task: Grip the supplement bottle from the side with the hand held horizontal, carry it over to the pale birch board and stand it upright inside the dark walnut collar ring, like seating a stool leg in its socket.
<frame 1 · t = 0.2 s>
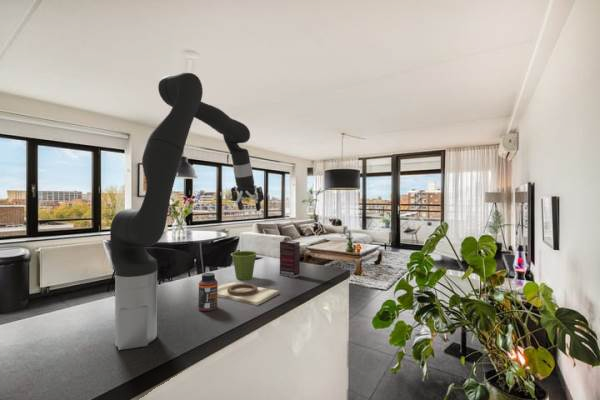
hand: (249, 210, 126), 31 cm above the kitchen counter, tool tilted 20°, fingers open, 8 cm apart
plant pot: (244, 278, 130), on the kitchen counter
stool seat board: (242, 293, 109), on the kitchen counter
supplement bottle: (207, 309, 94), on the kitchen counter
supplement box: (289, 275, 136), on the kitchen counter
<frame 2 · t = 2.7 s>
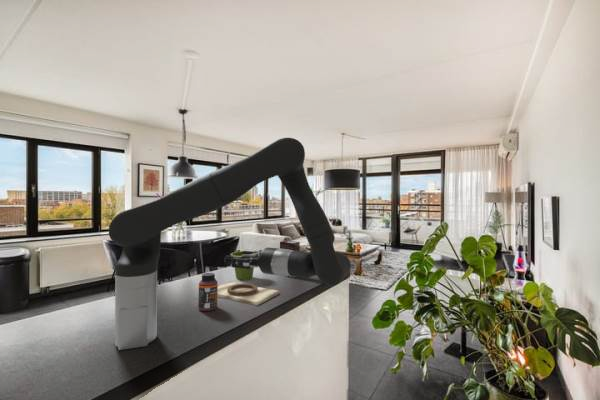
hand: (234, 256, 89), 18 cm above the kitchen counter, tool horizontal, fingers open, 8 cm apart
nothing on the kitchen counter moved.
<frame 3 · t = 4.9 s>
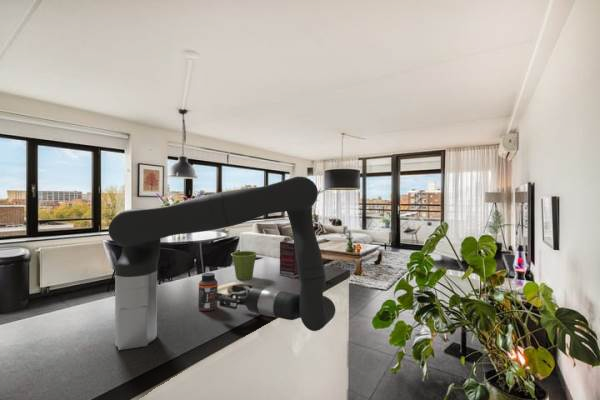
hand: (224, 292, 91), 7 cm above the kitchen counter, tool horizontal, fingers open, 8 cm apart
nothing on the kitchen counter moved.
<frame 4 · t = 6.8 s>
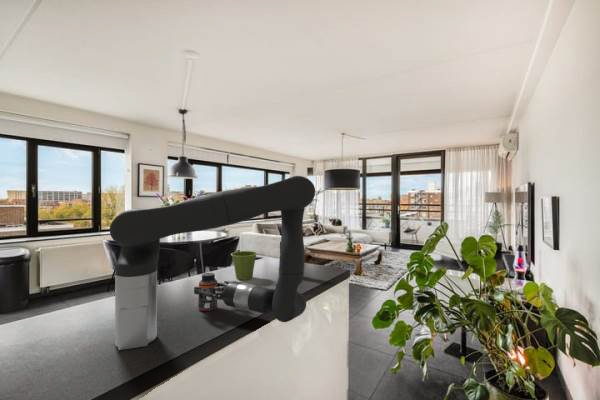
hand: (202, 287, 96), 7 cm above the kitchen counter, tool horizontal, fingers closed on supplement bottle, 6 cm apart
supplement bottle: (207, 308, 94), on the kitchen counter, touching gripper
everything else where it was.
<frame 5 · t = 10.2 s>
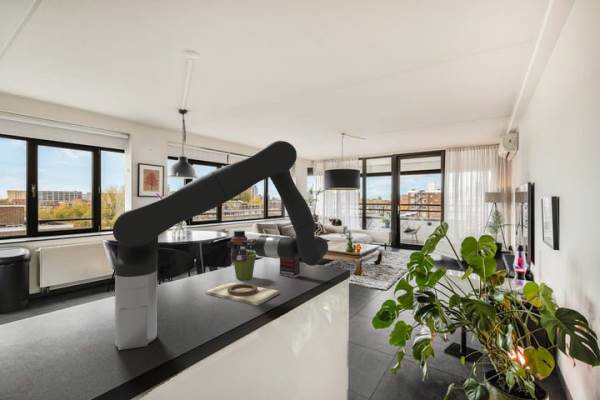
hand: (234, 243, 108), 19 cm above the kitchen counter, tool horizontal, fingers closed on supplement bottle, 6 cm apart
supplement bottle: (239, 262, 107), point 13 cm above the kitchen counter, touching gripper
everything else where it was.
when the fingers open (9 cm above the kitchen counter, at t = 13.6 s): supplement bottle drops 1 cm, resting on stool seat board.
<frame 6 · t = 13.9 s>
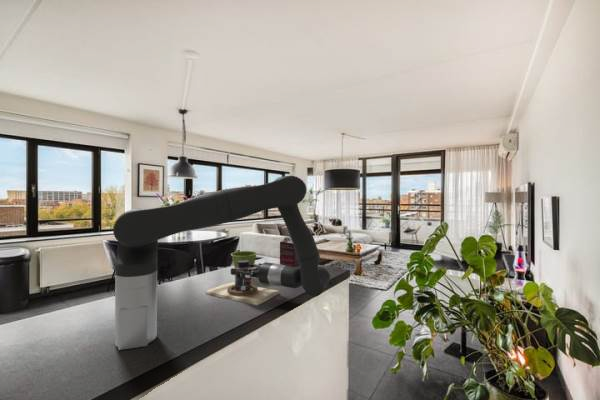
hand: (238, 268, 110), 9 cm above the kitchen counter, tool horizontal, fingers open, 8 cm apart
supplement bottle: (243, 291, 109), point 1 cm above the kitchen counter, touching stool seat board
everything else where it was.
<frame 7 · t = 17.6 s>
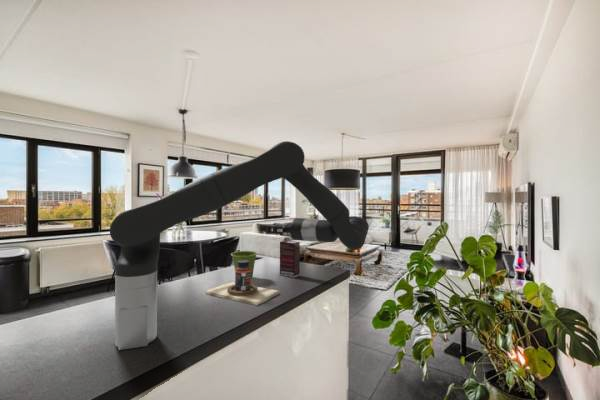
hand: (266, 227, 104), 26 cm above the kitchen counter, tool horizontal, fingers open, 8 cm apart
nothing on the kitchen counter moved.
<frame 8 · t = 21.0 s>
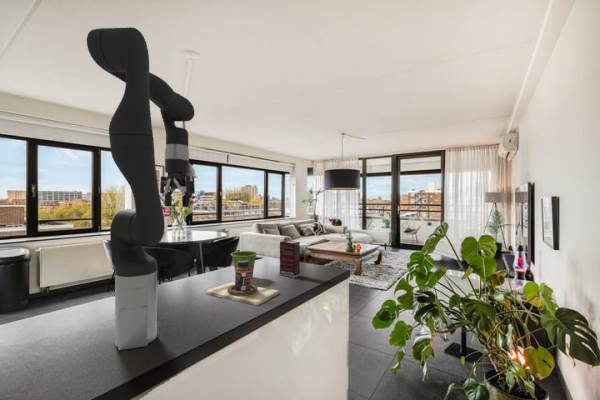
hand: (176, 206, 98), 33 cm above the kitchen counter, tool pointing down, fingers open, 8 cm apart
nothing on the kitchen counter moved.
at the end: supplement bottle 0.2 cm off-centre on the stool seat board, point 0.8 cm above the stool seat board's base; supplement bottle tilted 0°; the gripper is holding nothing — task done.
